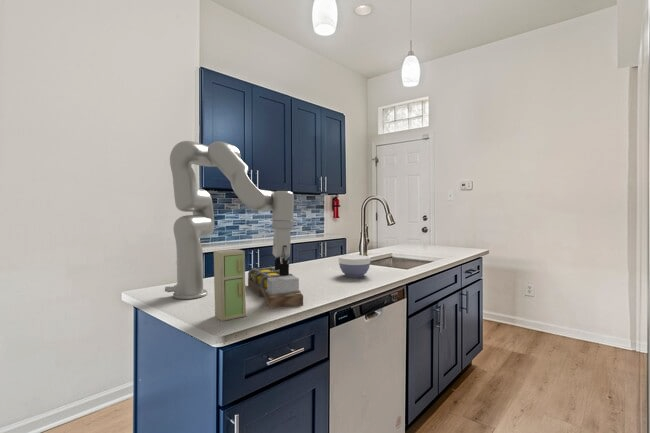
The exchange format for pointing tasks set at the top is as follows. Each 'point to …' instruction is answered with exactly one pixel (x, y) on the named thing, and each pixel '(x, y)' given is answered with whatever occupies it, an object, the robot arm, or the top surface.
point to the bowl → (354, 265)
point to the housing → (282, 285)
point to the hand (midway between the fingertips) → (281, 272)
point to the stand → (284, 300)
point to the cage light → (261, 279)
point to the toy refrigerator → (229, 284)
